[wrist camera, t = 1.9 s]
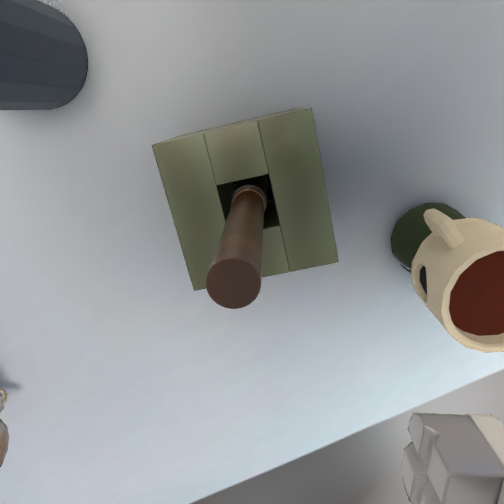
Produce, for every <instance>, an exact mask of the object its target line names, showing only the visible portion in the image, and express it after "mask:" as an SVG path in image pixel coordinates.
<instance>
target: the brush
mask: <svg viewBox="0 0 504 504" xmlns="http://www.w3.org/2000/svg"><path fill="white" fill-rule="evenodd" d="M231 206H232V207H231V210H230V212H229V215H228V218H227V221H226V223H225V226H224V229H223V232H222V234H221V237H220V240H219V243H218V245H217V248H216V251H215V254H214V256H213V259H212V262H211V265H210V268H209V270H208V273H207V276H206V289H207V291H208V294H209V295H210V297H211V298H212V299H213V300H214V301H215V302H216V303H217V304H219V305H221V306H223V307H226V308H231V309H237V308H242V307H245V306H247V305H249V304H250V303H252V302H253V301H254V300H255V299H256V297H257V296H258V294H259V292H260V288H261V271H262V246H263V222H264V212H265V210H266V208H267V177H266V175H262V176H257V177H253V178H248V179H244V180H239V181H238V183H237V185H236V188H235V190H234V193H233V195H232V199H231Z"/></svg>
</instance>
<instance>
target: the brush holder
mask: <svg viewBox="0 0 504 504" xmlns="http://www.w3.org/2000/svg"><path fill="white" fill-rule="evenodd" d="M152 148H153V151H154V155H155V158H156V161H157V165H158V168H159V172H160V175H161V179H162V182H163V186H164V189H165V192H166V196H167V199H168V203H169V206H170V210H171V213H172V217H173V220H174V224H175V227H176V230H177V234H178V237H179V241H180V244H181V248H182V251H183V255H184V258H185V261H186V265H187V268H188V272H189V275H190V279H191V282H192V286H193V289H194V291H196V290H201V289H206V276H207V273H208V270H209V268H210V265H211V262H212V259H213V256H214V254H215V251H216V248H217V245H218V243H219V240H220V237H221V234H222V232H223V229H224V226H225V223H226V221H227V218H228V215H229V212H230V210H231V207H232V206H231V199H232V195H233V193H234V188H233V184H232V182H235V181H239V180H244V179H248V178H253V177H257V176H262V175H266V174H269V177H270V181H271V186H272V191H273V195H274V199H271V200H267V208H266V210H265V212H264V222H263V246H262V271H261V277H266V276H271V275H276V274H281V273H286V272H290V271H296V270H301V269H306V268H311V267H316V266H321V265H326V264H331V263H336V262H338V255H337V250H336V244H335V238H334V233H333V227H332V221H331V216H330V210H329V204H328V199H327V193H326V187H325V182H324V176H323V170H322V165H321V159H320V153H319V148H318V142H317V136H316V130H315V125H314V119H313V113H312V108H304V107H299V108H295V109H291V110H287V111H282V112H278V113H274V114H270V115H266V116H261V117H257V118H253V119H249V120H244V121H240V122H236V123H232V124H228V125H223V126H219V127H215V128H211V129H206V130H202V131H198V132H194V133H190V134H185V135H181V136H178V137H175V138H172V139H169V140H166V141H163V142H160V143H157V144H154V145H152Z"/></svg>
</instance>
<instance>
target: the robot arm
mask: <svg viewBox="0 0 504 504" xmlns="http://www.w3.org/2000/svg"><path fill="white" fill-rule="evenodd" d="M3 409H4V405H3V400H2V396H1V393H0V413H1V412H2V410H3ZM408 431H409V434H410V436H411V439H412V442H411V443H410V444H408V445H407V446H406V447H405V448H404V454H403V461H402V468H403V481H404V485H405V490H406V493H407V496H408V498H409V501H410V502H411V503H412V504H504V426H503V424H502V423H501V422H500V421H499V419H498V418H496V417H495V416H493V415H480V414H479V415H478V414H465V415H455V414H435V413H413V414H412V416H411V418H410V420H409V426H408ZM8 440H9V435H8V428H7V426H6V425H5V424H4V422H3V421H2V420H1V419H0V467H1V465H2V463H3V460H4V458H5V455H6V452H7V450H8Z"/></svg>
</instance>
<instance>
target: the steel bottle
mask: <svg viewBox="0 0 504 504" xmlns="http://www.w3.org/2000/svg"><path fill="white" fill-rule="evenodd" d="M87 67H88V63H87V52H86V48H85V45H84V42H83V39H82V37H81V35H80V33H79V32H78V30H77V29H76V27H75V26H74V24H73V23H72V22H71V21H70V20H69V19H68V18H67V17H66V16H65V15H64V14H62V13H61V12H60V11H59V10H57V9H55V8H53V7H51V6H49V5H47V4H45V3H42V2H40V1H38V0H0V110H41V109H53V108H57V107H60V106H63V105H65V104H67V103H68V102H70V101H71V100H72V99H73V98H74V97H75V96H76V95H77V94H78V93H79V91H80V90H81V88H82V86H83V84H84V81H85V79H86V74H87Z"/></svg>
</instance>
